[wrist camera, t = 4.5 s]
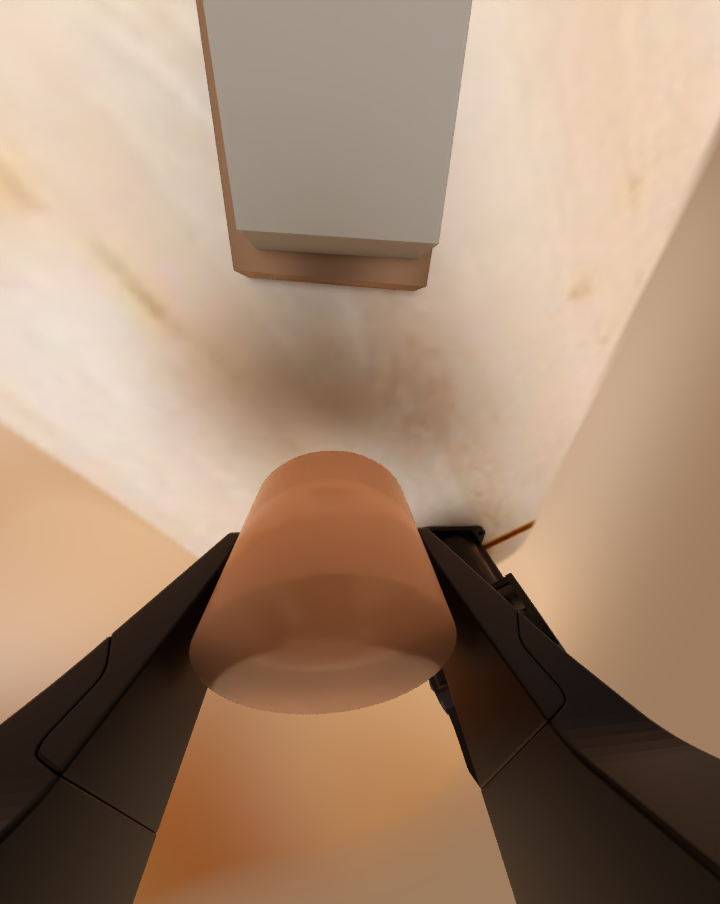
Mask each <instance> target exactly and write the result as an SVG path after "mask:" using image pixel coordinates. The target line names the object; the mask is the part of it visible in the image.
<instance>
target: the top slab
mask: <svg viewBox="0 0 720 904" xmlns="http://www.w3.org/2000/svg"><path fill="white" fill-rule="evenodd" d="M203 5H204V11H205V18H206V25H207V32H208V39H209V45H210V52H211V59H212V66H213V72H214V79H215V86H216V93H217V100H218V106H219V113H220V120H221V127H222V134H223V140H224V147H225V154H226V161H227V167H228V174H229V181H230V188H231V195H232V201H233V208H234V215H235V222H236V229H237V231H239V232H240V233H241V234H242V235H243V236H244V237H245V238H246V239H247V240H248V241H249V242H250V243H251V244H252V245H254V246H255V247H256V248H257V249H258V250H274V251H290V252H306V253H322V254H338V255H354V256H371V257H387V258H403V259H419V258H420V257H421V256H423V255H424V254H425V253H427V252H428V251H429V250H431V249H432V248H433V247H435V246H436V245H437V244H439V236H440V229H441V222H442V215H443V208H444V201H445V193H446V186H447V179H448V172H449V165H450V157H451V150H452V143H453V136H454V129H455V121H456V114H457V107H458V100H459V93H460V85H461V78H462V71H463V64H464V57H465V49H466V42H467V35H468V28H469V21H470V13H471V6H472V0H203Z"/></svg>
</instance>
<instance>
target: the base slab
mask: <svg viewBox="0 0 720 904" xmlns="http://www.w3.org/2000/svg"><path fill="white" fill-rule="evenodd" d="M196 4H197V11H198V18H199V26H200V33H201V40H202V47H203V54H204V61H205V68H206V75H207V83H208V90H209V97H210V104H211V111H212V118H213V125H214V132H215V140H216V147H217V154H218V161H219V168H220V175H221V182H222V189H223V197H224V204H225V211H226V218H227V225H228V232H229V239H230V246H231V254H232V261H233V268H234V271H236V272H238V273H241V274H243V275H245V276H247V277H251V278H263V279H275V280H288V281H300V282H312V283H325V284H337V285H349V286H361V287H374V288H386V289H398V290H411V291H415V290H418V289H421V288H423V287H426V286H427V279H428V272H429V266H430V259H431V253H432V249H431V250H429V251H428V252H427V253H425V254H424V255H423V256H421V257H420V258H419V259H403V258H387V257H371V256H354V255H338V254H322V253H306V252H290V251H274V250H258V249H257V248H256V247H255V246H254V245H252V244H251V243H250V242H249V241H248V240H247V239H246V238H245V237H244V236H243V235H242V234H241V233H240V232H239V231H237V229H236V222H235V215H234V208H233V201H232V195H231V188H230V181H229V174H228V167H227V161H226V154H225V147H224V140H223V134H222V127H221V120H220V113H219V106H218V100H217V93H216V86H215V79H214V72H213V66H212V59H211V52H210V45H209V39H208V32H207V25H206V18H205V11H204V5H203V0H196Z"/></svg>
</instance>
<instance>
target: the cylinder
mask: <svg viewBox="0 0 720 904" xmlns="http://www.w3.org/2000/svg"><path fill="white" fill-rule="evenodd" d="M456 637H457V632H456V626H455V623H454V620H453V618H452V615H451V613H450V610H449V607H448V605H447V602H446V600H445V597H444V595H443V592H442V590H441V587H440V585H439V582H438V579H437V577H436V574H435V572H434V569H433V567H432V564H431V562H430V559H429V557H428V554H427V552H426V549H425V546H424V544H423V541H422V539H421V536H420V534H419V531H418V529H417V526H416V524H415V521H414V519H413V516H412V513H411V511H410V508H409V506H408V503H407V501H406V498H405V496H404V493H403V491H402V489H401V486H400V485H399V483H398V481H397V480H396V478H395V477H394V476H393V475H392V474H391V473H390V472H389V471H388V470H387V469H385V468H384V467H383V466H382V465H380V464H378V463H377V462H375V461H373V460H371V459H369V458H367V457H364V456H361V455H358V454H355V453H349V452H344V451H320V452H314V453H309V454H306V455H302V456H299V457H297V458H294V459H292V460H290V461H288V462H286V463H285V464H283V465H281V466H280V467H278V468H277V469H276V470H275V471H273V472H272V473H271V474H270V475H269V476H268V478H267V479H266V480H265V481H264V483H263V484H262V486H261V487H260V489H259V492H258V494H257V496H256V498H255V500H254V503H253V505H252V507H251V509H250V512H249V514H248V516H247V518H246V520H245V523H244V525H243V527H242V529H241V532H240V534H239V536H238V538H237V540H236V543H235V545H234V547H233V549H232V552H231V554H230V556H229V558H228V560H227V563H226V565H225V567H224V569H223V572H222V574H221V576H220V578H219V580H218V583H217V585H216V587H215V589H214V592H213V594H212V596H211V598H210V600H209V603H208V605H207V607H206V609H205V612H204V614H203V616H202V618H201V620H200V623H199V625H198V627H197V629H196V632H195V634H194V636H193V638H192V640H191V645H190V650H189V655H190V662H191V665H192V668H193V670H194V672H195V674H196V675H197V677H198V678H199V679H200V680H201V681H202V682H203V683H204V684H205V685H206V686H207V687H208V688H209V689H211V690H212V691H214V692H215V693H217V694H218V695H220V696H222V697H224V698H226V699H228V700H230V701H233V702H235V703H238V704H241V705H244V706H247V707H250V708H255V709H259V710H264V711H270V712H277V713H286V714H325V713H335V712H343V711H349V710H355V709H360V708H364V707H368V706H372V705H375V704H379V703H382V702H385V701H388V700H390V699H393V698H396V697H398V696H400V695H402V694H405V693H407V692H409V691H411V690H413V689H414V688H417V687H418V686H420V685H421V684H423V683H424V682H426V681H427V680H429V679H430V678H431V677H433V676H434V675H435V674H436V673H437V672H438V671H439V670H440V669H441V668H442V667H443V666H444V665H445V664H446V662H447V661H448V660H449V658H450V656H451V654H452V653H453V651H454V647H455V644H456Z"/></svg>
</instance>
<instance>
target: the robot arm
mask: <svg viewBox="0 0 720 904" xmlns="http://www.w3.org/2000/svg"><path fill="white" fill-rule="evenodd" d="M417 529H418V531H419V534H420V536H421V539H422V541H423V544H424V546H425V549H426V552H427V554H428V557H429V559H430V562H431V564H432V567H433V569H434V572H435V574H436V577H437V579H438V582H439V585H440V587H441V590H442V592H443V595H444V597H445V600H446V602H447V605H448V607H449V610H450V613H451V615H452V618H453V620H454V623H455V626H456V632H457V637H456V644H455V647H454V651H453V653H452V654H451V656H450V658H449V660H448V661H447V662H446V664H445V665H444V666H443V667H442V668H441V669H440V670H439V671H438V672H437V673H436V674H435V675H434V676H433V677H431V678H430V679H429V683H430V687H431V689H432V690H433V691H434V692H435V694H436V696H437V698H438V700H439V702H440V704H441V706H442V707H443V709H444V710H445V712H446V713H447V714H448V715H449V716H450V719H451V721H452V724H453V726H454V729H455V732H456V735H457V737H458V740H459V743H460V746H461V750H462V752H463V756H464V758H465V762H466V765H467V768H468V770H469V772H470V774H471V775H472V776H473V778H474V779H475V781H476V782H477V784H478V785H479V787H480V788H481V789H482V790H481V792H482V795H483V798H484V801H485V805H486V808H487V811H488V814H489V817H490V820H491V823H492V827H493V830H494V833H495V837H496V840H497V843H498V846H499V849H500V852H501V856H502V859H503V862H504V865H505V868H506V872H507V875H508V878H509V881H510V884H511V888H512V891H513V894H514V897H515V900H516V904H720V759H719V758H717V757H715V756H713V755H710V754H708V753H706V752H704V751H702V750H700V749H698V748H696V747H694V746H692V745H690V744H688V743H687V742H685V741H683V740H681V739H680V738H678V737H676V736H674V735H673V734H671V733H670V732H668V731H666V730H665V729H663V728H662V727H661V726H659V725H658V724H656V723H655V722H653V721H652V720H650V719H649V718H648V717H647V716H645V715H644V714H642V713H641V712H640V711H639V710H637V709H636V708H635V707H634V706H632V705H631V704H630V703H628V702H627V701H626V700H625V699H624V698H622V697H621V696H620V695H619V694H617V693H616V692H615V691H614V690H612V689H611V688H610V687H609V686H607V685H606V684H605V683H604V682H602V681H601V680H600V679H599V678H597V677H596V676H595V675H594V674H592V673H591V672H590V671H589V670H587V669H586V668H585V667H584V666H582V665H581V664H580V663H579V662H577V661H576V660H575V659H574V658H572V657H571V656H570V655H569V654H568V653H567V652H566V651H565V649H564V648H563V646H562V645H561V644H560V642H559V641H558V639H557V638H556V636H555V635H554V634H553V632H552V631H551V629H550V628H549V626H548V625H547V623H546V622H545V620H544V619H543V617H542V616H541V615H540V613H539V612H538V610H537V609H536V608H535V607H534V605H533V603H532V602H531V600H530V599H529V598H528V596H527V595H526V594H525V592H524V591H523V589H522V588H521V586H520V585H519V583H518V582H517V581H516V579H515V578H514V576H513V575H512V574H511V573H509V574H507V575H506V577H503V576H502V574H501V573H500V571H499V570H498V568H497V566H496V565H495V563H494V562H493V560H492V559H491V557H490V556H489V554H488V553H487V551H486V550H485V548H484V547H483V545H482V544H481V543H482V540H483V538H484V535H485V530H484V529H483V528H482V527H448V528H417ZM239 534H240V532H234V533H229V534H228V535H226V536H225V537H224V538H223V539H222V540H221V541H219V542H218V543H217V544H216V545H215V546H214V547H212V548H211V549H210V550H209V551H208V552H207V553H205V554H204V555H203V556H202V557H201V558H200V559H198V560H197V561H196V562H195V563H194V564H193V565H192V566H190V567H189V568H188V569H187V570H186V571H185V572H183V573H182V574H181V575H180V576H179V577H177V578H176V579H175V580H174V581H173V582H172V583H171V584H169V585H168V586H167V587H166V588H165V589H164V590H162V591H161V592H160V593H159V594H158V595H157V596H155V597H154V598H153V599H152V600H151V601H150V602H149V603H147V604H146V605H145V606H144V607H143V608H141V609H140V610H139V611H138V612H137V613H136V614H134V615H133V616H132V617H131V618H130V619H129V620H128V621H126V622H125V623H124V624H123V625H122V626H120V627H119V628H118V629H117V630H116V631H115V632H113V634H112V636H111V637H108V638H106V639H105V640H104V641H103V642H102V643H100V644H99V645H98V646H97V647H96V648H95V649H94V650H92V651H91V652H90V653H89V654H88V655H86V656H85V657H84V658H83V659H82V660H80V661H79V662H78V663H77V664H76V665H74V666H73V667H72V668H71V669H70V670H68V671H67V672H66V673H65V674H64V675H62V676H61V677H60V678H59V679H58V680H56V681H55V682H54V683H52V684H51V685H50V686H49V687H47V688H46V689H45V690H44V691H42V692H41V693H40V694H39V695H37V696H36V697H35V698H34V699H32V700H31V701H30V702H28V703H27V704H26V705H25V706H23V707H22V708H21V709H20V710H18V711H17V712H16V713H14V714H13V715H12V716H11V717H9V718H8V719H7V720H5V721H4V722H3V723H2V724H0V904H133V901H134V898H135V895H136V892H137V890H138V887H139V884H140V881H141V878H142V875H143V872H144V869H145V867H146V863H147V861H148V858H149V855H150V852H151V849H152V846H153V843H154V840H155V838H156V832H157V831H158V829H159V826H160V823H161V820H162V817H163V814H164V811H165V808H166V806H167V803H168V800H169V797H170V794H171V791H172V788H173V786H174V783H175V780H176V777H177V774H178V771H179V768H180V765H181V763H182V760H183V757H184V754H185V751H186V748H187V745H188V742H189V739H190V737H191V734H192V731H193V728H194V725H195V722H196V720H197V717H198V714H199V711H200V708H201V705H202V702H203V699H204V697H205V694H206V691H207V688H208V687H207V686H206V685H205V684H204V683H203V682H202V681H201V680H200V679H199V678H198V677H197V675H196V674H195V672H194V670H193V668H192V665H191V662H190V655H189V650H190V645H191V640H192V638H193V636H194V634H195V632H196V629H197V627H198V625H199V623H200V620H201V618H202V616H203V614H204V612H205V609H206V607H207V605H208V603H209V600H210V598H211V596H212V594H213V592H214V589H215V587H216V585H217V583H218V580H219V578H220V576H221V574H222V572H223V569H224V567H225V565H226V563H227V560H228V558H229V556H230V554H231V552H232V549H233V547H234V545H235V543H236V540H237V538H238V536H239Z"/></svg>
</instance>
